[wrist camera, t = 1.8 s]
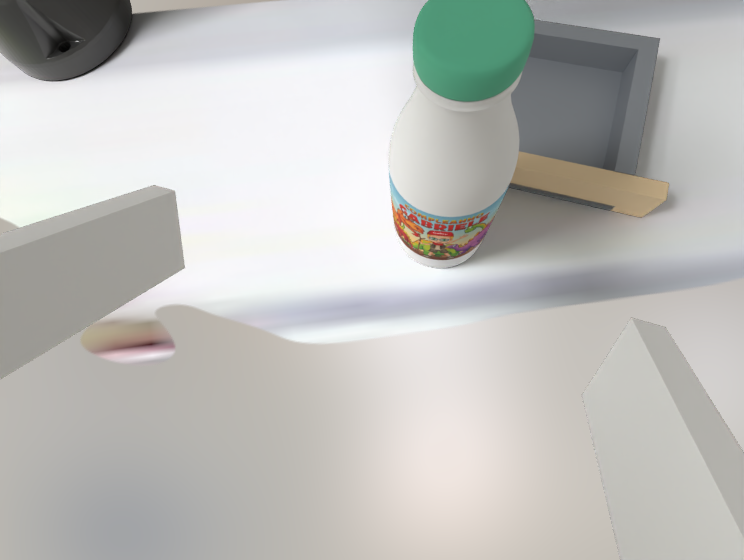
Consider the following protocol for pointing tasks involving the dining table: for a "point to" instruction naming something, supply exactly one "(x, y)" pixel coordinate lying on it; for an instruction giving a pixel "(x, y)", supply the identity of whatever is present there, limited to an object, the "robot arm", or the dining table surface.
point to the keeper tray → (586, 118)
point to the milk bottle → (458, 126)
